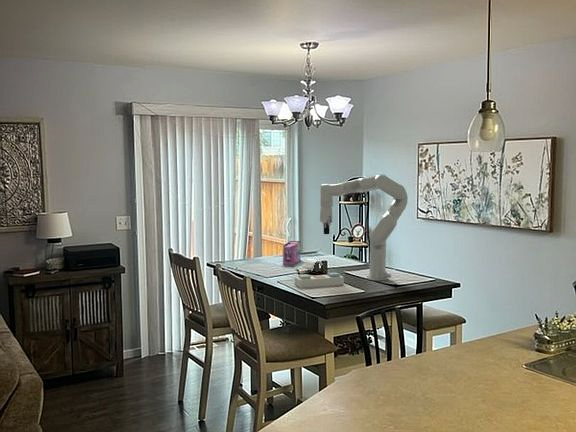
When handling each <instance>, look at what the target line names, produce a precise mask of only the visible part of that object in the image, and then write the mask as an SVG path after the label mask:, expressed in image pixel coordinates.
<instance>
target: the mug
mask: <svg viewBox="0 0 576 432" xmlns="http://www.w3.org/2000/svg"><path fill="white" fill-rule="evenodd" d="M316 262H317V263H319V264H320V266H322V265H323V262H322V261H321V260H319V259H313V258H307V259H306V260H305V262H304V264H302V265H301V268H302V269H305V270H306V269H308V270H311V271H310V272H312V271H313V269H314V265H315V263H316ZM323 266H324V265H323ZM308 270H307V271H308Z"/></svg>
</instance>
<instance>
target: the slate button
mask: <svg viewBox="0 0 576 432" xmlns="http://www.w3.org/2000/svg"><path fill="white" fill-rule="evenodd" d="M327 275H328V276H329V277H340V273H338V272H327Z"/></svg>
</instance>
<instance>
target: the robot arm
mask: <svg viewBox="0 0 576 432" xmlns="http://www.w3.org/2000/svg"><path fill="white" fill-rule="evenodd" d="M375 190H379V191H382V192H383V193H385V194H387V195H388V196H390V197H392V198H393V200H392V202H391V203H390V204H389V206H388V208H387V209H386V211H385V212H384V214H382V216H381V218H380V220H379V221H378V223H377V225H376V226H375V227H373V228H372V229H371V231H370V232H369V275H367V276H366V279H367V280H369V281H375V282H376V281H379V282H381V281H387V280H388V279H389V278H392V274H391V273H388V271H386V268H387V267H386V265H387V262H386V260H387V258H386V257H387V256H386V255H387V254H386V253H387V240H388V238H389V237H390V236H391V234H392V233H393V231H394V230H395V228H396V227H397V224H398V220H399V219H400V218H401V216H402V214H403V213H404V211H405V209H406V207H407V205H408V198H409V197H408V193H407V191H406V190H407V189H406V188H405V186H403V185H402V184H400V183H398V182H397V181H395V180H393V179H392V178H390V177H389V176H387V175H386V174H376V175H371V176H366V177H361V178H357V179H353V180H349V181H345V182H344V181H343V182H340V183H336V184H331V183H324V184H323V183H322V184H320V203H319V204H320V209H319V210H320V211H319V221H320V223H322V224H323V226H322V227H323V234H324V235H329V234H330V226H331V225H332V224H331V223H332V222H333V207H334V201H333V200H334V197H341V196H344V195H349V194H354V193H355V194H356V193H366V192H371V191H375Z"/></svg>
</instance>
